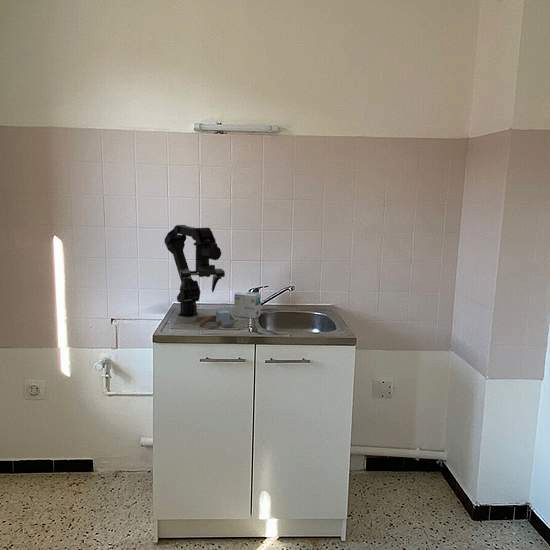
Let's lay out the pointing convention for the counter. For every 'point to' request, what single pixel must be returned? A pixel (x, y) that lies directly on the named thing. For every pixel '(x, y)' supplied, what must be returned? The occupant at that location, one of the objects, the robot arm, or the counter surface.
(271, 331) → the counter surface
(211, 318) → the trap lane
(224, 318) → the slate block
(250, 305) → the light bulb box
